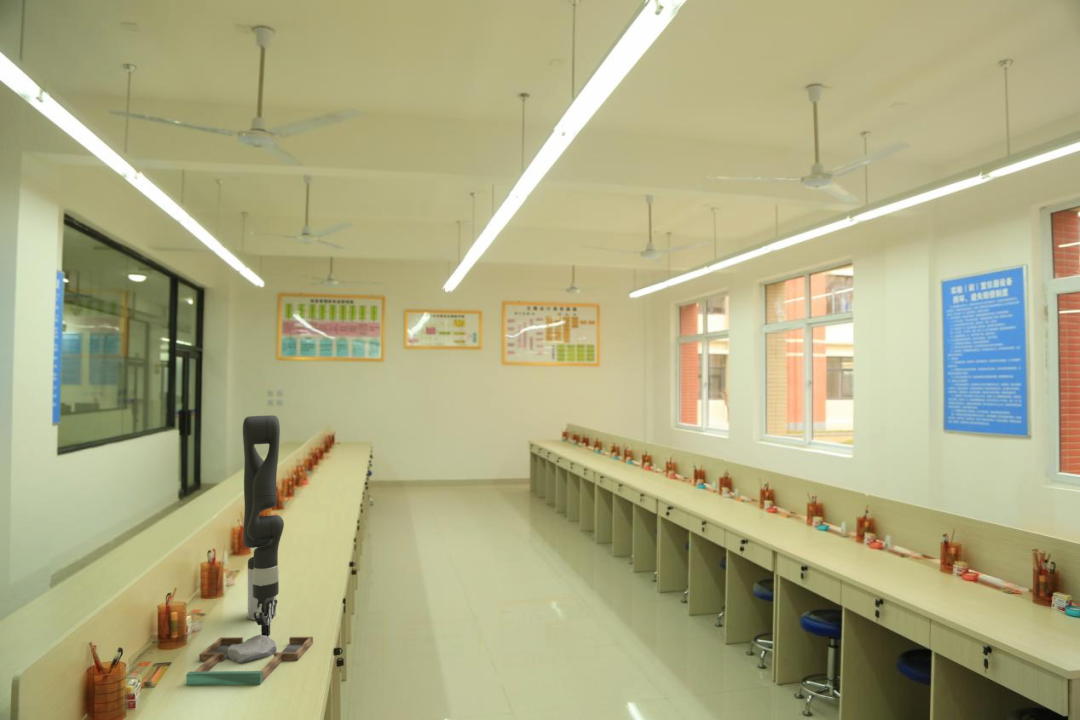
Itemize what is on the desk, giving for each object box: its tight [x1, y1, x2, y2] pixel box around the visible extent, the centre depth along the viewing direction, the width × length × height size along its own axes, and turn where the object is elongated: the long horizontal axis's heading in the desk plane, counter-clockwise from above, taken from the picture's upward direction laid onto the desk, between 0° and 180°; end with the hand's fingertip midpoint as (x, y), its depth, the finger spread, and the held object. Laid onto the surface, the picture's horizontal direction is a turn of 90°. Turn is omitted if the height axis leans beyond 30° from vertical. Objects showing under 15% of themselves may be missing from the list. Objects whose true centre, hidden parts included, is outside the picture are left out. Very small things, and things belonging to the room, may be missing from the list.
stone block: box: [227, 634, 277, 664], centre depth 203 cm, size 12×5×10 cm
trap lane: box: [186, 636, 314, 686], centre depth 197 cm, size 28×29×3 cm
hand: (265, 636), depth 210 cm, fingers closed
